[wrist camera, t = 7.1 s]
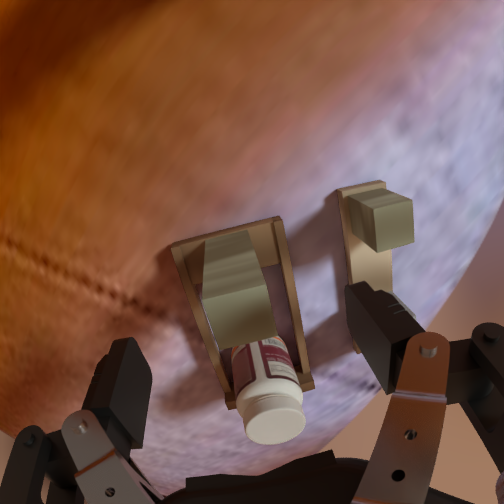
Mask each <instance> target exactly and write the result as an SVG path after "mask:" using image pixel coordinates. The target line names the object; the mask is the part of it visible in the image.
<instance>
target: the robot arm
mask: <svg viewBox="0 0 504 504" xmlns="http://www.w3.org/2000/svg"><path fill="white" fill-rule="evenodd" d="M345 301H346V314H347V324H348V328H349V331H350V333H351V335H352V337H353V339H354V340H355V342H356V344H357V345H358V347H359V349H360V350H361V352H362V354H363V355H364V357H365V359H366V361H367V362H368V364H369V366H370V367H371V369H372V371H373V372H374V374H375V376H376V378H377V379H378V381H379V383H380V384H381V386H382V388H383V390H384V391H385V393H386V395H388V394H391V393H392V396H391V400H390V403H389V406H388V409H387V412H386V416H385V418H384V422H383V424H382V428H381V430H380V433H379V436H378V439H377V442H376V445H375V447H374V450H373V452H372V455H371V458H370V460H369V461H368V460H363V459H358V458H335V456H334V453H333V451H332V450H328V451H325V452H321V453H318V454H314V455H310V456H307V457H303V458H299V459H295V460H293V461H291V462H289V463H287V464H285V465H283V466H281V467H278V468H276V469H274V470H272V471H269V472H267V473H265V474H262V475H259V476H246V475H228V474H216V475H208V476H199V477H189V478H186V488H183V489H180V490H178V491H176V492H174V493H172V494H170V495H168V496H167V497H166V498H164V497H163V496H162V495H161V494H160V493H159V492H158V491H157V490H156V489H155V487H154V486H153V485H152V484H151V482H150V481H149V480H148V479H147V477H146V476H145V475H144V473H143V472H142V471H141V469H140V468H139V467H138V466H137V464H136V463H135V461H134V460H133V459H132V458H131V457H130V451H131V449H142V447H143V439H144V432H145V425H146V418H147V411H148V405H149V399H150V392H151V386H152V373H151V369H150V367H149V365H148V363H147V361H146V359H145V357H144V355H143V354H142V352H141V350H140V348H139V346H138V344H137V342H136V340H135V339H134V338H133V337H129V338H123V339H118V340H114V341H113V343H112V345H111V348H110V351H109V354H107V355H105V356H104V357H103V358H102V359H101V360H100V362H99V363H98V364H97V367H96V369H95V372H94V376H93V377H92V380H91V384H90V386H89V388H88V391H87V394H86V397H85V400H84V403H83V406H82V409H81V410H79V411H76V412H74V413H72V414H71V415H69V416H68V417H67V418H66V419H65V421H64V423H63V425H62V429H61V430H58V431H55V432H51V433H48V434H46V433H45V432H44V431H43V430H42V429H41V428H40V427H39V426H36V425H31V426H28V427H26V428H24V429H23V430H22V431H21V432H20V433H19V434H18V435H17V437H16V439H15V442H14V445H13V448H12V451H11V454H10V457H9V460H8V463H7V466H6V469H5V473H4V476H3V479H2V483H1V486H0V504H44V503H43V502H42V499H41V489H42V485H43V480H44V476H45V477H46V478H47V479H48V480H50V486H49V490H48V495H47V501H46V504H84V498H85V499H86V501H87V503H88V504H474V503H471V502H468V501H465V500H462V499H460V498H457V497H454V496H451V495H448V494H446V493H444V492H441V491H438V490H436V489H433V488H431V487H429V485H430V481H431V477H432V474H433V470H434V465H435V462H436V457H437V453H438V448H439V444H440V439H441V434H442V428H443V422H444V417H445V410H446V405H449V404H455V403H459V404H460V405H461V407H462V408H463V410H464V412H465V413H466V415H467V416H468V418H469V420H470V421H471V423H472V425H473V426H474V428H475V430H476V431H477V433H478V435H479V436H480V438H481V439H482V441H483V443H484V445H485V447H486V448H487V450H488V452H489V454H490V455H491V457H492V459H493V461H494V462H495V464H496V466H497V468H498V470H499V472H500V474H501V475H500V476H499V478H498V480H497V483H496V495H497V499H498V504H504V327H503V326H501V325H499V324H496V323H482V324H480V325H478V326H476V327H475V328H474V330H473V332H472V336H471V338H470V339H465V340H458V341H451V342H448V340H447V339H446V338H445V337H444V336H442V335H440V334H438V333H434V332H426V331H425V330H424V329H423V328H422V327H421V326H420V325H419V324H418V322H417V321H416V320H415V319H414V318H413V317H412V316H411V315H410V314H409V312H408V311H407V310H405V308H404V307H403V306H402V305H401V304H399V302H398V300H397V299H396V298H395V297H394V296H393V295H392V294H390V293H388V292H385V291H383V290H381V289H380V290H377V291H374V290H373V289H372V288H371V286H370V285H369V284H368V283H367V282H366V281H361V282H357V283H354V284H351V285H347V286H345Z"/></svg>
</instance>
